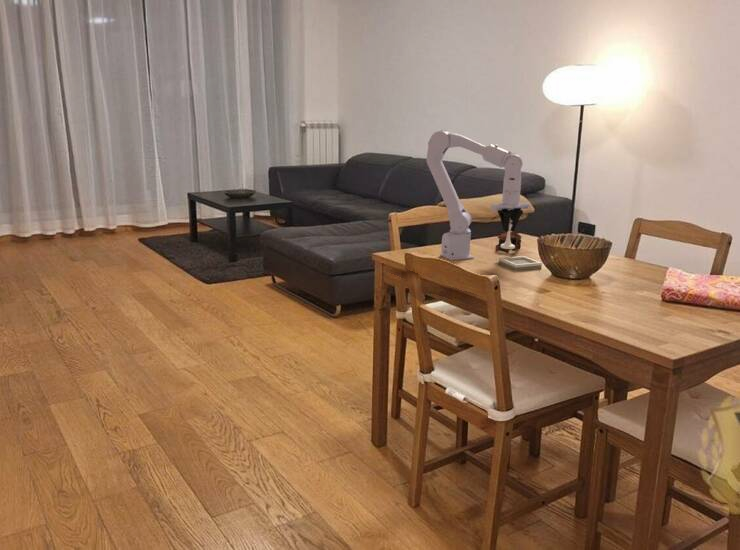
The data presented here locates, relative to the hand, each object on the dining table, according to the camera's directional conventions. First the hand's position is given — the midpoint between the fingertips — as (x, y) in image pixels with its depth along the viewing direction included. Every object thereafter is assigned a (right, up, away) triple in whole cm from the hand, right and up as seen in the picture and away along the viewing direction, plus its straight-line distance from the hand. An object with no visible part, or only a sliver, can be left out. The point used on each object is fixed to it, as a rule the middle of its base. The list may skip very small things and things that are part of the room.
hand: (508, 230), depth 222 cm
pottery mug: (+4, -6, +17) cm, 19 cm away
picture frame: (+3, -12, -4) cm, 13 cm away
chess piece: (0, -6, +2) cm, 6 cm away
